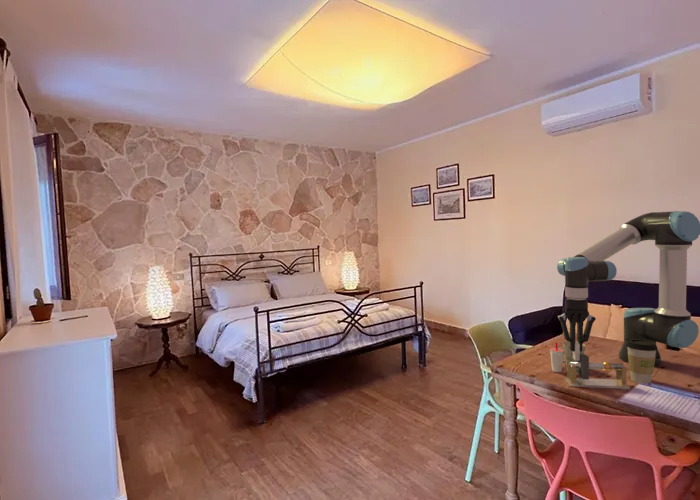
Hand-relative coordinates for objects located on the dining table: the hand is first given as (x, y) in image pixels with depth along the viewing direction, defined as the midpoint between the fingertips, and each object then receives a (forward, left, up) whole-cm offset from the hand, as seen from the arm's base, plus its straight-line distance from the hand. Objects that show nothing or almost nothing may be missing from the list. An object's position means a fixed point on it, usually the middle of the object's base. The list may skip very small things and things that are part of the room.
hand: (576, 359), depth 154 cm
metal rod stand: (-7, 0, -9) cm, 12 cm away
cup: (+3, -13, -9) cm, 16 cm away
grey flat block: (-2, 0, -6) cm, 6 cm away
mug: (-3, -18, -9) cm, 20 cm away
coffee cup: (-25, -6, -9) cm, 27 cm away
